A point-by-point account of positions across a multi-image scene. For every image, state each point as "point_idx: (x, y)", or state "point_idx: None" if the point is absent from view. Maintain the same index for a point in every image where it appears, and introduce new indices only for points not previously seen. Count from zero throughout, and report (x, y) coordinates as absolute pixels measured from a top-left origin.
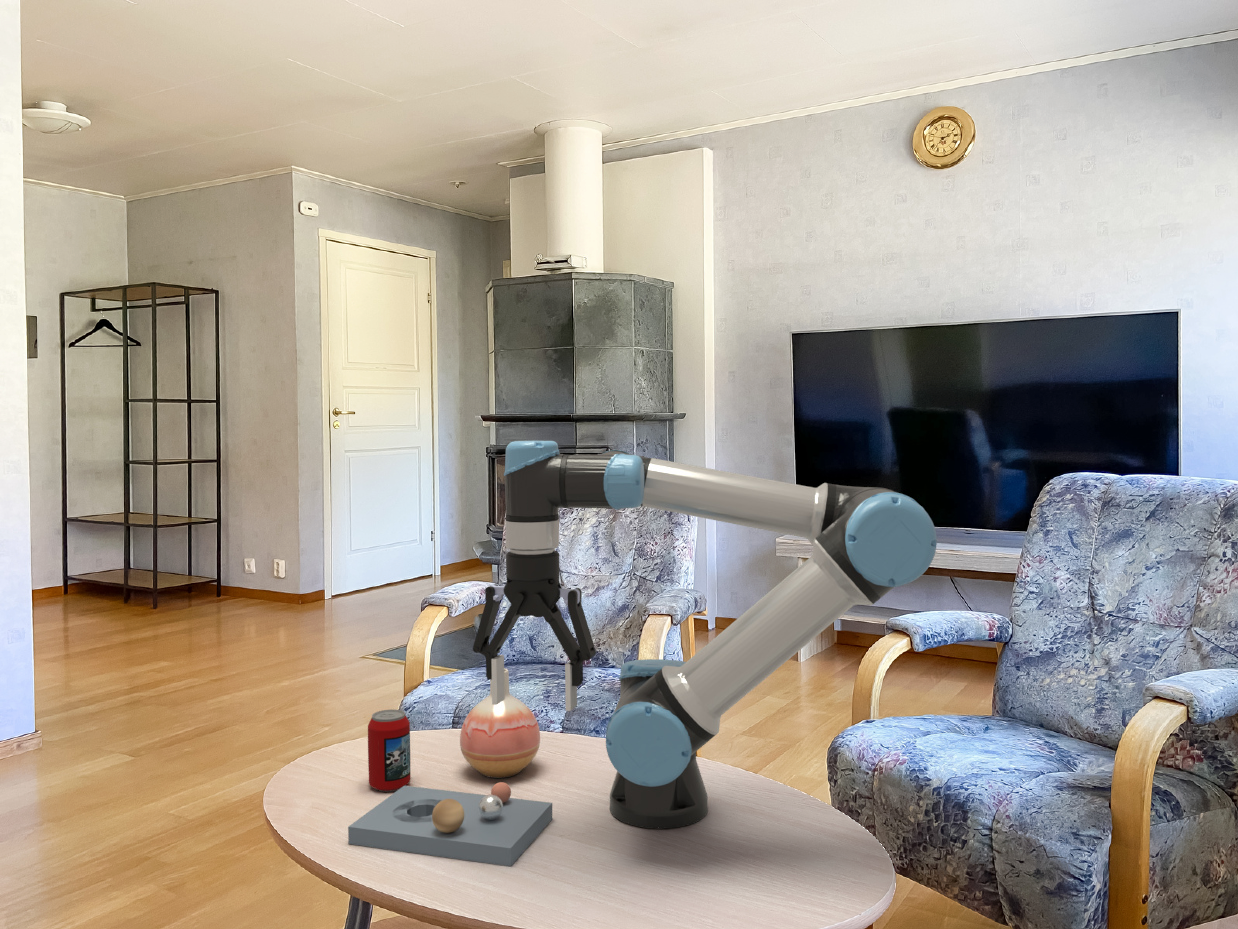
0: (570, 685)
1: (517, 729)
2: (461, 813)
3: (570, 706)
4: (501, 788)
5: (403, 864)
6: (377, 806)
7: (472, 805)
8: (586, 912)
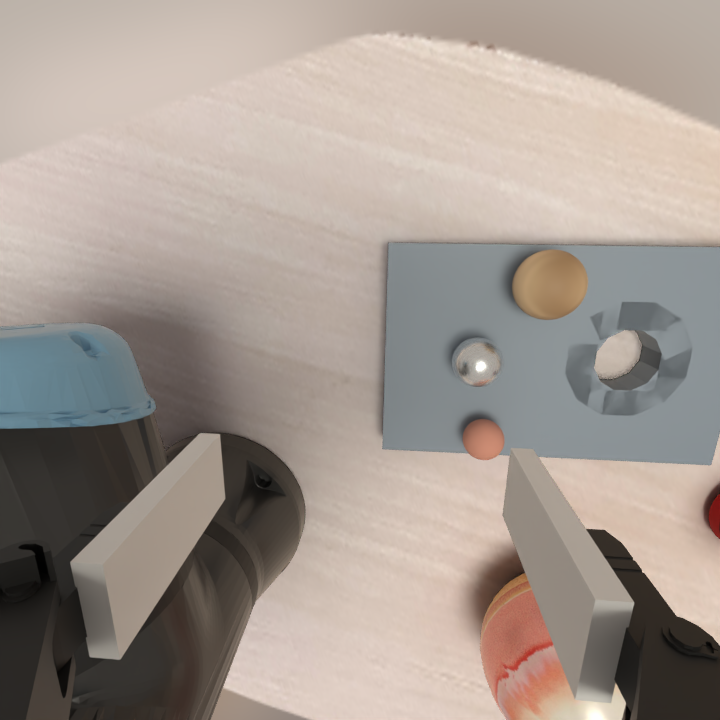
0: (144, 489)
1: (524, 652)
2: (518, 282)
3: (192, 441)
4: (480, 433)
5: (591, 196)
6: None
7: (531, 405)
8: (204, 118)
